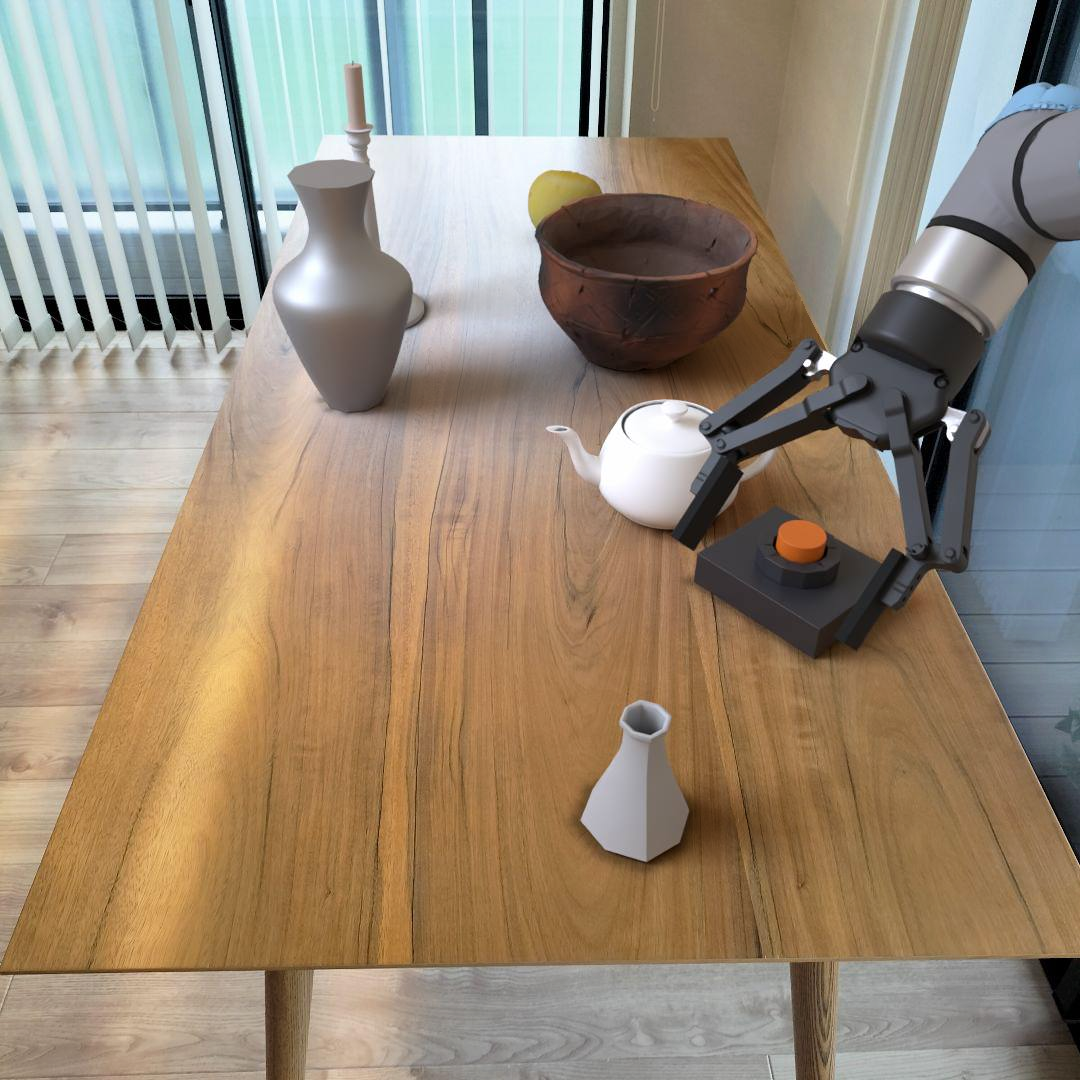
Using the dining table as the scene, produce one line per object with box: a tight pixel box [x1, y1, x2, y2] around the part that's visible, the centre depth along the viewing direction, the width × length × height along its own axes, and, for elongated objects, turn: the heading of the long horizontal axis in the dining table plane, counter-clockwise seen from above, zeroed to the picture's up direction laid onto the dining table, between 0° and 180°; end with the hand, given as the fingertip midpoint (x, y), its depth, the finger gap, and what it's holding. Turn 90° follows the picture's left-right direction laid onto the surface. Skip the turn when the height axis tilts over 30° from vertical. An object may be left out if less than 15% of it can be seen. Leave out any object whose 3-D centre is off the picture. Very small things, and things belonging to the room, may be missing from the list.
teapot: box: [545, 399, 779, 531], centre depth 102 cm, size 22×14×11 cm, turn 93°
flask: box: [580, 699, 690, 863], centre depth 72 cm, size 7×7×10 cm
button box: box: [693, 505, 882, 659], centre depth 93 cm, size 13×11×5 cm
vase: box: [271, 158, 414, 413], centre depth 112 cm, size 14×14×25 cm
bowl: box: [534, 192, 759, 372], centre depth 125 cm, size 25×25×15 cm
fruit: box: [527, 169, 603, 229], centre depth 154 cm, size 10×11×10 cm
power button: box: [776, 519, 827, 564], centre depth 91 cm, size 4×4×2 cm
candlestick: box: [341, 60, 425, 329], centre depth 128 cm, size 13×13×30 cm
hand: (758, 591), depth 71 cm, fingers open, 13 cm apart
